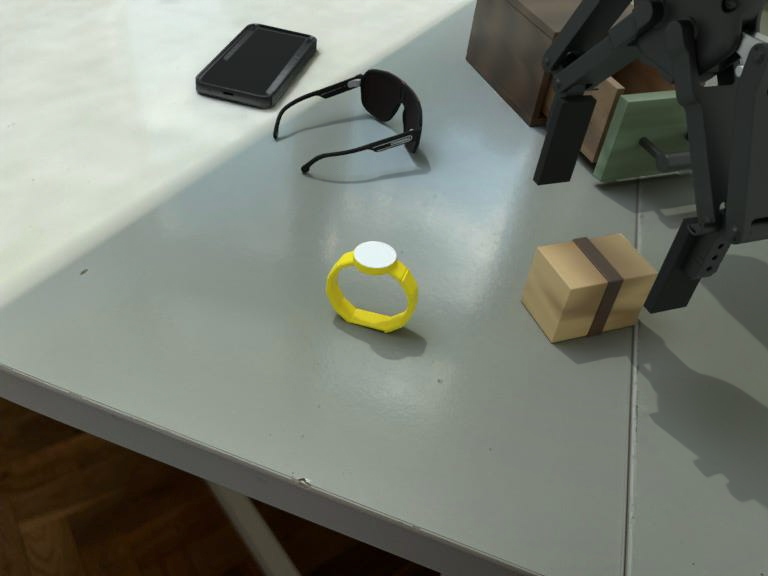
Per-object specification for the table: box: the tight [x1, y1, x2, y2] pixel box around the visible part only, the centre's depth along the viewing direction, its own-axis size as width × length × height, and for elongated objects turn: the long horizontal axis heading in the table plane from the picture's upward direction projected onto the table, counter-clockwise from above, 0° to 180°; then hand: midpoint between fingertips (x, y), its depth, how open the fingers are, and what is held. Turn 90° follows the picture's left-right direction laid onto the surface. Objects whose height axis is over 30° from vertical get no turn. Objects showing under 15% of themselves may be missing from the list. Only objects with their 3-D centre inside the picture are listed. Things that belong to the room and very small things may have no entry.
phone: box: [194, 23, 318, 109], centre depth 78 cm, size 8×1×15 cm
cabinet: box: [465, 0, 634, 127], centre depth 80 cm, size 15×12×10 cm
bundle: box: [520, 232, 659, 344], centre depth 55 cm, size 7×5×5 cm
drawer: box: [541, 37, 707, 183], centre depth 71 cm, size 18×11×8 cm, turn 21°
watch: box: [325, 240, 419, 334], centre depth 51 cm, size 6×3×6 cm, turn 72°
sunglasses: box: [272, 68, 424, 174], centre depth 69 cm, size 11×12×5 cm
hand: (602, 238), depth 52 cm, fingers open, 13 cm apart
